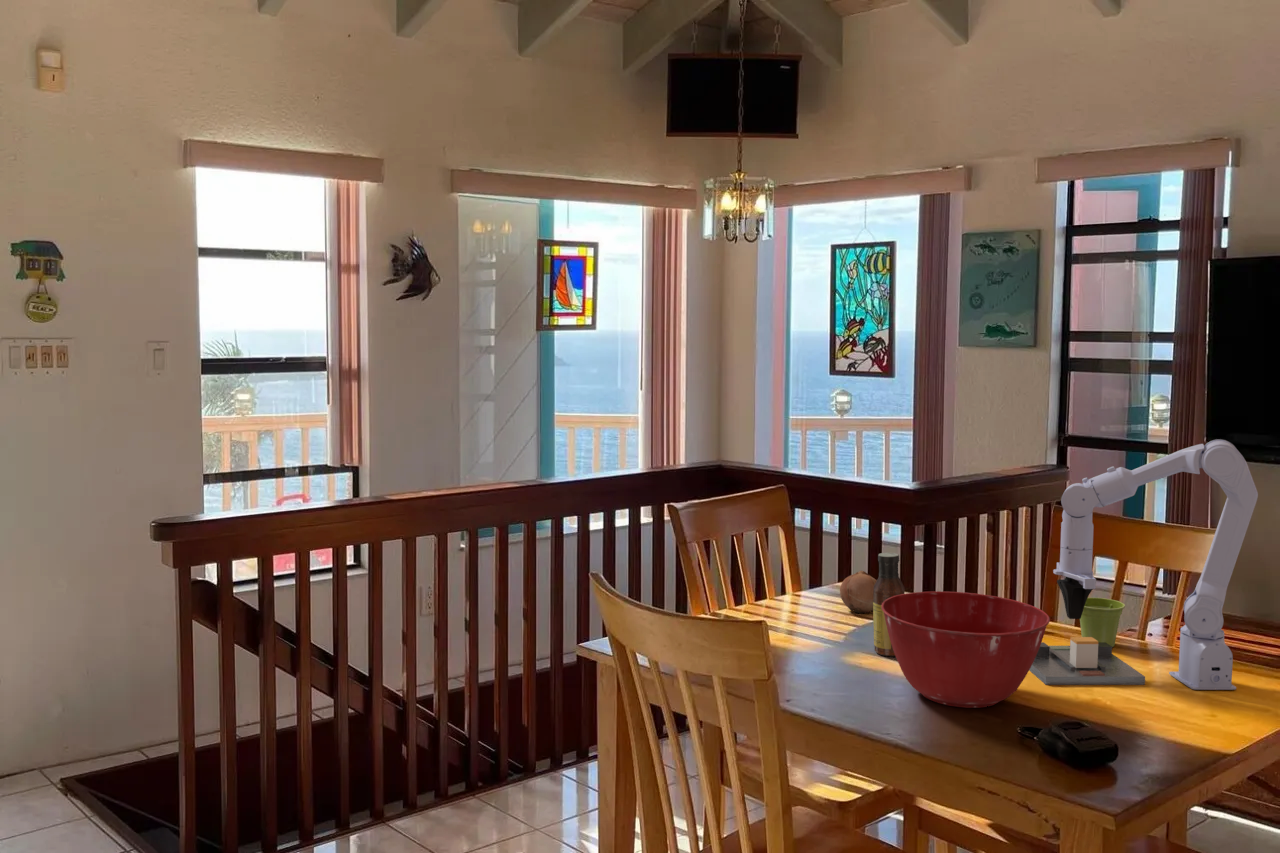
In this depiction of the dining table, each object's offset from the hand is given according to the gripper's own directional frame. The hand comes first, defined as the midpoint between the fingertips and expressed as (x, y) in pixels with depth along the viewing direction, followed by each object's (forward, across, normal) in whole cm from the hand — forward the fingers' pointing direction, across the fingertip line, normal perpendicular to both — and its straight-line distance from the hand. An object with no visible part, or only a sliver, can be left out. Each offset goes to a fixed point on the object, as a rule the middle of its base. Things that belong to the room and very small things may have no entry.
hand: (1073, 618), depth 222 cm
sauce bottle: (+10, -9, -33) cm, 36 cm away
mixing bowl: (+10, +17, -26) cm, 33 cm away
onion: (+10, -42, -32) cm, 54 cm away
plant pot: (+10, -15, +11) cm, 21 cm away
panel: (+9, +1, 0) cm, 9 cm away
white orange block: (+8, +5, 0) cm, 9 cm away
